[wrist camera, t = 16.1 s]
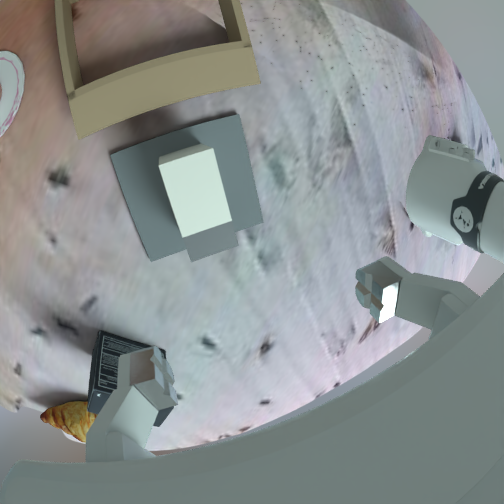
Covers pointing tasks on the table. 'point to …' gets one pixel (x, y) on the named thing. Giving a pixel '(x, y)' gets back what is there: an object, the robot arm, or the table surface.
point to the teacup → (10, 87)
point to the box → (198, 200)
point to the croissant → (70, 418)
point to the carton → (154, 74)
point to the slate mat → (154, 192)
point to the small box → (112, 371)
